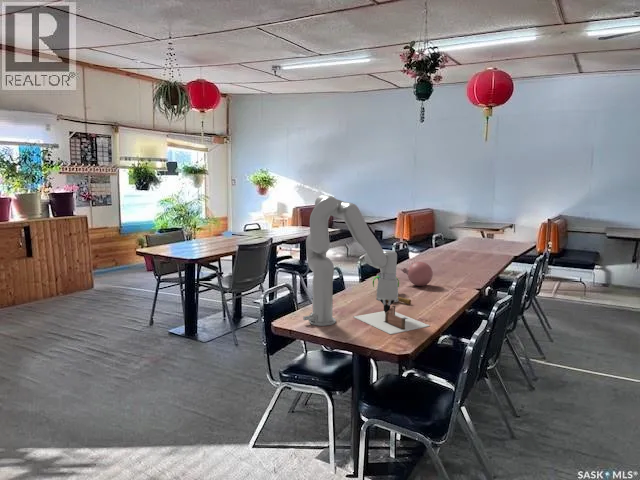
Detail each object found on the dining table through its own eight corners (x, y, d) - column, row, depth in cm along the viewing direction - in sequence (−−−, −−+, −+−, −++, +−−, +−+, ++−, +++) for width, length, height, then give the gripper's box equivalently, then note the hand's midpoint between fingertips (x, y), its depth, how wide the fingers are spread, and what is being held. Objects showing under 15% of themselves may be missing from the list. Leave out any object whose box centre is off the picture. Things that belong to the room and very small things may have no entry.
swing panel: (389, 320, 225) (389, 311, 224) (385, 320, 225) (386, 311, 225) (395, 314, 235) (395, 305, 235) (392, 313, 236) (392, 305, 235)
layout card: (390, 334, 208) (390, 333, 208) (353, 317, 233) (353, 316, 232) (429, 326, 219) (429, 325, 219) (390, 310, 244) (390, 309, 244)
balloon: (404, 281, 310) (404, 258, 308) (434, 284, 302) (435, 260, 299) (397, 286, 297) (397, 262, 294) (428, 289, 288) (429, 264, 286)
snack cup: (398, 290, 285) (398, 274, 284) (399, 295, 275) (400, 278, 274) (372, 290, 287) (372, 273, 285) (372, 294, 276) (372, 277, 275)
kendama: (412, 305, 260) (382, 296, 269) (413, 294, 257) (383, 286, 267) (406, 310, 254) (376, 301, 263) (407, 300, 251) (377, 291, 260)
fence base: (402, 329, 213) (403, 319, 212) (384, 321, 224) (384, 312, 224) (405, 329, 214) (405, 319, 213) (387, 321, 225) (387, 311, 225)
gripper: (371, 276, 229) (370, 313, 231) (403, 278, 225) (401, 316, 228) (374, 273, 236) (372, 309, 239) (404, 275, 232) (402, 312, 235)
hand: (386, 312), depth 233 cm, fingers closed
